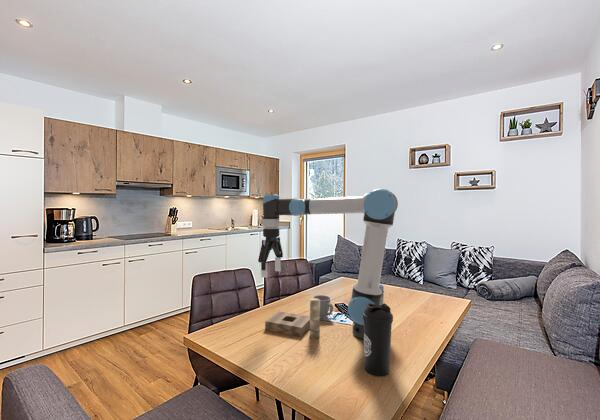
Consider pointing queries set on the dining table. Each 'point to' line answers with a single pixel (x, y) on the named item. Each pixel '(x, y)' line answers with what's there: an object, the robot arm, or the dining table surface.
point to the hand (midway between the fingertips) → (271, 274)
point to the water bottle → (377, 339)
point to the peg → (314, 318)
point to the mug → (324, 305)
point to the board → (288, 323)
